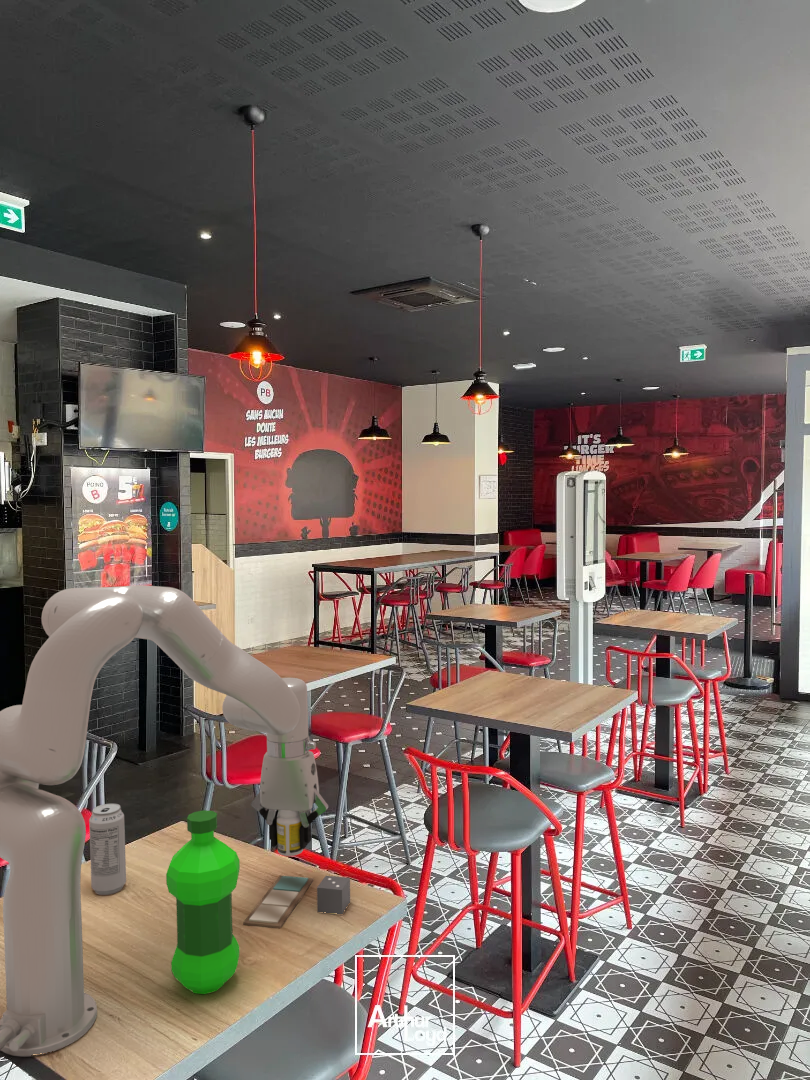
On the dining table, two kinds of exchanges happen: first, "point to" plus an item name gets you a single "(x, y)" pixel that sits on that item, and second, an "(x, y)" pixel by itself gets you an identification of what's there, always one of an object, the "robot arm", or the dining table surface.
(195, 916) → the plastic bottle
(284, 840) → the supplement bottle
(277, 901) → the board
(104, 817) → the energy drink can
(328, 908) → the die
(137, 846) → the dining table surface
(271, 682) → the robot arm
